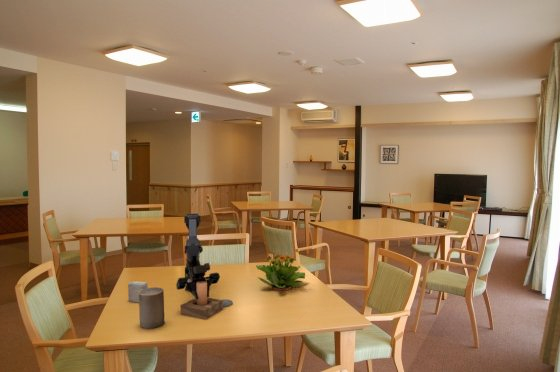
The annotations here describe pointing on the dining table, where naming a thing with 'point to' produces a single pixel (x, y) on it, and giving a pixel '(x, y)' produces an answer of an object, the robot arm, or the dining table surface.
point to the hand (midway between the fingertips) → (202, 297)
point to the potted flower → (281, 273)
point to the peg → (202, 293)
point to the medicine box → (135, 290)
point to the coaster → (227, 303)
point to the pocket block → (201, 308)
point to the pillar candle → (151, 307)
